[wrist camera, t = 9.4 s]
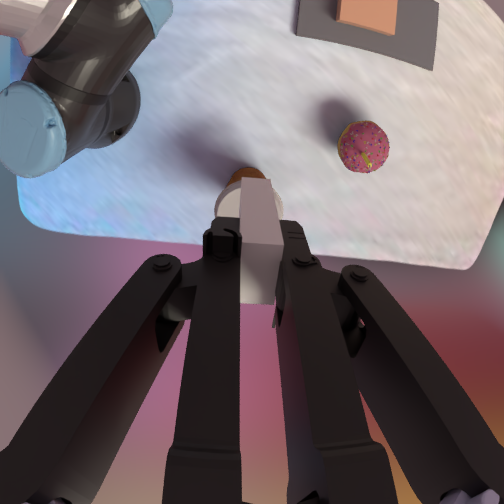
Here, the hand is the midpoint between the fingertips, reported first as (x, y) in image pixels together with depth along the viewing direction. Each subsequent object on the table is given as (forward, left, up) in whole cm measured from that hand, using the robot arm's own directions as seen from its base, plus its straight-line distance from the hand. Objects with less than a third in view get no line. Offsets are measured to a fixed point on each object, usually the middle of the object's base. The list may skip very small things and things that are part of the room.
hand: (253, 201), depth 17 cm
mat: (+18, +21, -34) cm, 44 cm away
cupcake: (+18, -2, -35) cm, 39 cm away
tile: (+21, +21, -32) cm, 43 cm away
